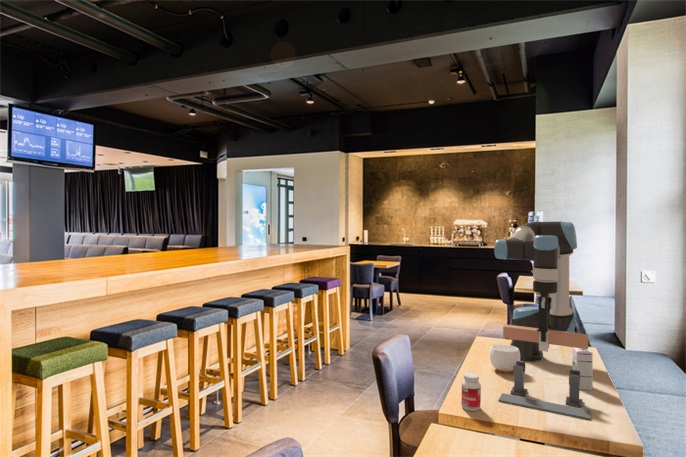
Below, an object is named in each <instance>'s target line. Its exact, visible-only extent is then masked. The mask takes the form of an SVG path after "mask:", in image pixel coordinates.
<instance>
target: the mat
mask: <svg viewBox="0 0 686 457" xmlns="http://www.w3.org/2000/svg"><path fill="white" fill-rule="evenodd" d="M500 394H501V395H500V396H499V398H498V402H499V403H504V404H509V405H515V406H519V407H523V408H528V409H533V410H539V411H544V412H549V413H553V414H558V415H562V416H567V417H568V416H569V417H572V418H578V419H582V420H586V421H587V420H588V421H591V420H592V419H591V409H590V410H589V409H585V408H581V407H576V406H570V405H566V404H565V405H564V404H560V403H554V402H550V401H546V400H545V401H544V400H538V399H534V398H530V397H529V398H528V397H526V396H525V397H524V396H519V395H514V394H507V393H503V392H502V393H500Z"/></svg>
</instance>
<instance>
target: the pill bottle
mask: <svg viewBox="0 0 686 457" xmlns="http://www.w3.org/2000/svg"><path fill="white" fill-rule="evenodd" d="M463 379H464V380H462V381H461V407H462V409H464V410H466V411H469V412H477V411H479V410H480V409H481V405H482V404H481V400H482V398H481V397H482V396H481V394H482V392H481V391H482V385H481V383H480V382H479V380H480V378H479V375H478V374H476V373H472V372H471V373H470V372H466V373H464V375H463Z"/></svg>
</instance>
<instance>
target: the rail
mask: <svg viewBox="0 0 686 457" xmlns="http://www.w3.org/2000/svg"><path fill="white" fill-rule="evenodd" d="M502 328H503V329H502V330H503V331H502V338H503V339H509V340H512V339H514V340H522V341H529V342H537V343H539V331H537V329H538V330H539V328H531V327H523V326H514V325H513V324H504V325H503V326H502ZM548 344H549V345H553V346H560V347H568V348H582V349H589V333H580V332H574V333H573V332H565V331H556V330H548Z"/></svg>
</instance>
